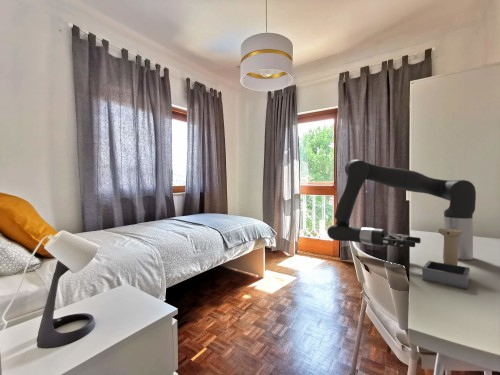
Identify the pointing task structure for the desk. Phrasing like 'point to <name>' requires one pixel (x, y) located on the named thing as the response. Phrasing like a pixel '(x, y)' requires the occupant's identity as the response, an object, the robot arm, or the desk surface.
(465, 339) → the desk surface
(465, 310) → the desk surface
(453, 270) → the grey square tray
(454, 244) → the handle
